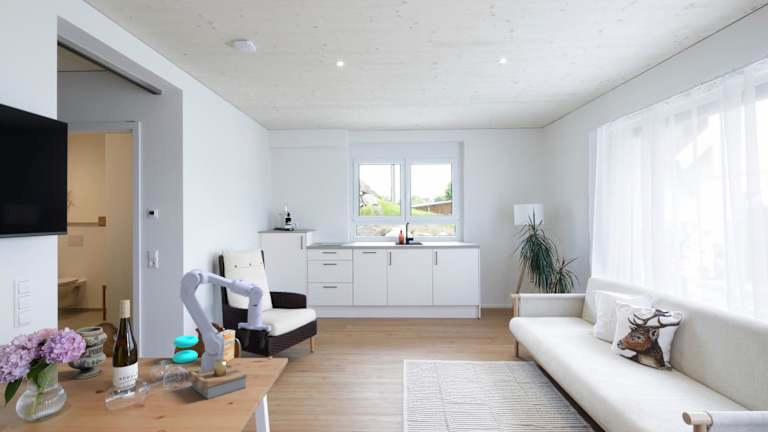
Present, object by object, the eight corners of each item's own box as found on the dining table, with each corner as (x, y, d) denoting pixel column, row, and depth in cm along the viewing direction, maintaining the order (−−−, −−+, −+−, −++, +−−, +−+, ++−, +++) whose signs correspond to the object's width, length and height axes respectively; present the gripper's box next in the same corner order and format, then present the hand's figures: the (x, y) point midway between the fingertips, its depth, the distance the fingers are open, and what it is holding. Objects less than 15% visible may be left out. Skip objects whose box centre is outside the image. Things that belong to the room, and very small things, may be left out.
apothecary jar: (101, 377, 149) (104, 331, 149) (62, 382, 144) (65, 334, 144) (108, 367, 160) (110, 324, 160) (72, 371, 154) (74, 326, 155)
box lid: (188, 380, 142) (188, 371, 142) (229, 369, 153) (229, 361, 153) (204, 392, 132) (204, 382, 132) (246, 380, 143) (246, 370, 143)
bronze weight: (212, 373, 144) (214, 359, 144) (225, 371, 146) (226, 358, 146) (213, 377, 140) (215, 363, 140) (226, 375, 142) (227, 362, 142)
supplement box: (223, 364, 166) (224, 334, 167) (213, 363, 167) (215, 333, 167) (234, 358, 174) (235, 330, 175) (225, 357, 175) (226, 329, 176)
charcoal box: (192, 387, 142) (192, 376, 142) (228, 377, 153) (228, 367, 153) (207, 399, 133) (208, 388, 133) (245, 388, 143) (245, 377, 143)
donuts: (168, 340, 166) (182, 334, 176) (167, 363, 166) (181, 355, 176) (190, 341, 165) (203, 335, 175) (188, 364, 165) (202, 357, 175)
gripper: (234, 315, 158) (233, 347, 158) (265, 317, 154) (264, 351, 154) (244, 311, 165) (243, 342, 164) (274, 314, 161) (273, 346, 161)
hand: (253, 346), depth 160 cm, fingers open, 7 cm apart
